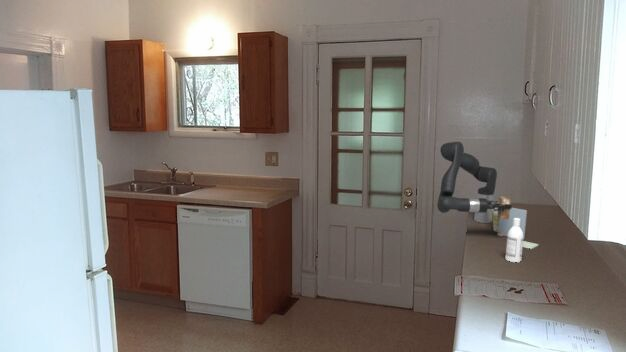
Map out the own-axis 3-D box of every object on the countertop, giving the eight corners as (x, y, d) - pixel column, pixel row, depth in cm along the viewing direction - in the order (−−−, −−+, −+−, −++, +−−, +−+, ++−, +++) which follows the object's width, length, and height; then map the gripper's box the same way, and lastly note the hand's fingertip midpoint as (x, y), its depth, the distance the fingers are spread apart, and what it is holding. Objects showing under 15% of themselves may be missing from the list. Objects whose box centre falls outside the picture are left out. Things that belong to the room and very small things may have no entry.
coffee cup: (488, 231, 281) (490, 205, 279) (491, 227, 290) (493, 202, 288) (507, 234, 277) (509, 207, 274) (509, 230, 286) (511, 204, 283)
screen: (496, 235, 274) (498, 206, 272) (501, 233, 279) (503, 205, 276) (521, 240, 265) (524, 211, 262) (526, 238, 269) (528, 209, 266)
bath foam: (516, 257, 236) (520, 216, 233) (524, 262, 230) (528, 220, 226) (502, 258, 236) (506, 216, 232) (509, 263, 229) (513, 220, 226)
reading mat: (513, 244, 257) (513, 243, 257) (521, 241, 263) (521, 240, 263) (531, 249, 251) (531, 247, 251) (538, 245, 257) (538, 244, 257)
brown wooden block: (500, 219, 259) (502, 198, 257) (497, 216, 264) (499, 196, 262) (509, 219, 259) (511, 198, 257) (505, 216, 264) (507, 196, 262)
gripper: (481, 201, 253) (515, 201, 253) (473, 195, 267) (505, 195, 267) (480, 215, 254) (514, 216, 254) (472, 209, 268) (503, 209, 268)
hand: (509, 205), depth 260 cm, fingers closed on brown wooden block, 4 cm apart
